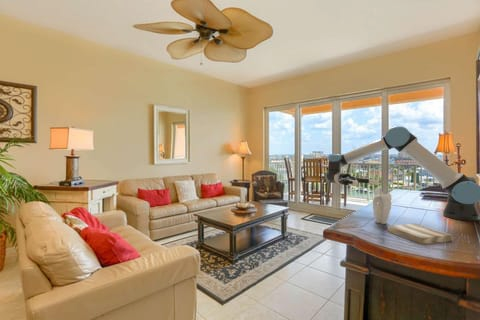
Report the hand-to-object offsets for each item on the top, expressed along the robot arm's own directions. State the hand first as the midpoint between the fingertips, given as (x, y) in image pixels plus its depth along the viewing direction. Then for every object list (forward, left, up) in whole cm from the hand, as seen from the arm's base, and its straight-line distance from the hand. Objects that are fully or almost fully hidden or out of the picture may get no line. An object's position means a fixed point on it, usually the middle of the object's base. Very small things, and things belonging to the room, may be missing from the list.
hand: (367, 183), depth 134 cm
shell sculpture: (-7, +7, -20) cm, 22 cm away
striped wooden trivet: (-21, +21, -19) cm, 36 cm away
